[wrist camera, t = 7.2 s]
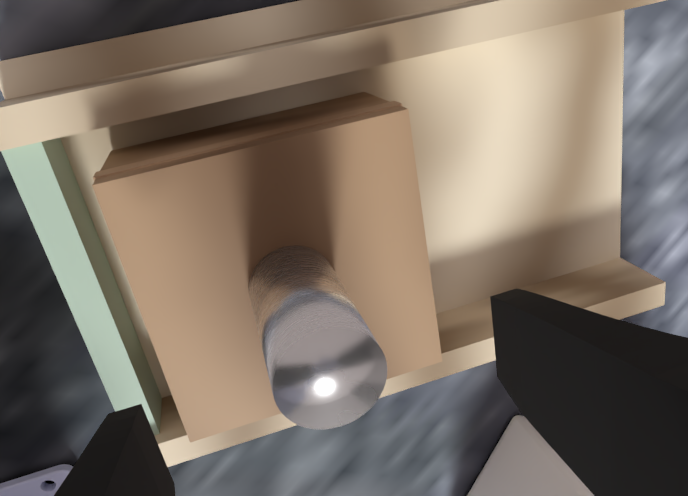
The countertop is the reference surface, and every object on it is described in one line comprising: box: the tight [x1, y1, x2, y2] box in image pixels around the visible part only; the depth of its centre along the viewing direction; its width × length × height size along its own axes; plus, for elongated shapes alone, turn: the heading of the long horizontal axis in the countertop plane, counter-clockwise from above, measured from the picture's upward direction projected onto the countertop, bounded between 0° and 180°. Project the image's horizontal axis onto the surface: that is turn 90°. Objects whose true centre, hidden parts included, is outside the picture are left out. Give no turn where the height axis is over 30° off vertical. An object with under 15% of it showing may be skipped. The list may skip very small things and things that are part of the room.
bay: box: [0, 0, 666, 467], centre depth 19 cm, size 20×14×4 cm
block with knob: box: [92, 92, 442, 442], centre depth 16 cm, size 8×8×9 cm
